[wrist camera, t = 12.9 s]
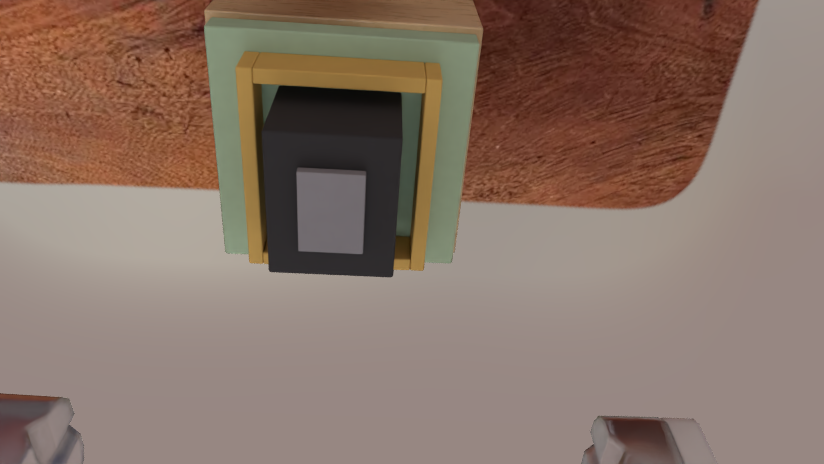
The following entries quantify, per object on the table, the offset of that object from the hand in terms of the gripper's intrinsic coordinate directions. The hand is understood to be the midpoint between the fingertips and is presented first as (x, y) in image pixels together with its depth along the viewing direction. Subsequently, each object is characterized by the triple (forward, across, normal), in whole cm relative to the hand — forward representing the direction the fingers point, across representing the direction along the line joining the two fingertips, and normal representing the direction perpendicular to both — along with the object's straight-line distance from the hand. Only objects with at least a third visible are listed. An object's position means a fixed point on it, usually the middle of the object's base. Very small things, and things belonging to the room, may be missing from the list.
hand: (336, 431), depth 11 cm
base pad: (+15, +1, +2) cm, 15 cm away
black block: (+14, +1, +2) cm, 14 cm away
